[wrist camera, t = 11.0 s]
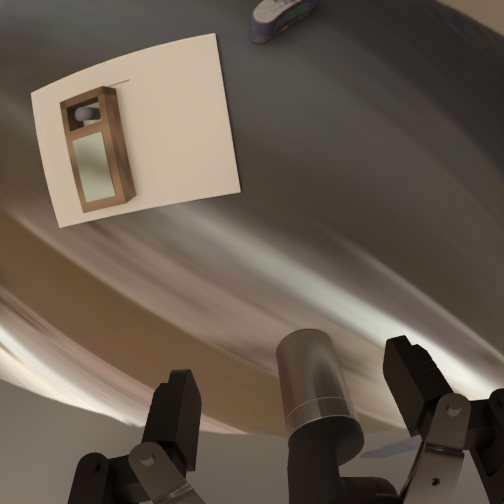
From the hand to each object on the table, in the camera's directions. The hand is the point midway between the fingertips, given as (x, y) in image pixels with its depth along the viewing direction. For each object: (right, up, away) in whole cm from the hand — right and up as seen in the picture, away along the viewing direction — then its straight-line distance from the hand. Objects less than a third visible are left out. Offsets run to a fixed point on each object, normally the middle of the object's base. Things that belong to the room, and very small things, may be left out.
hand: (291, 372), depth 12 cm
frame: (-20, +18, +23) cm, 35 cm away
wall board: (-17, +20, +24) cm, 35 cm away
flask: (+2, +33, +19) cm, 38 cm away
